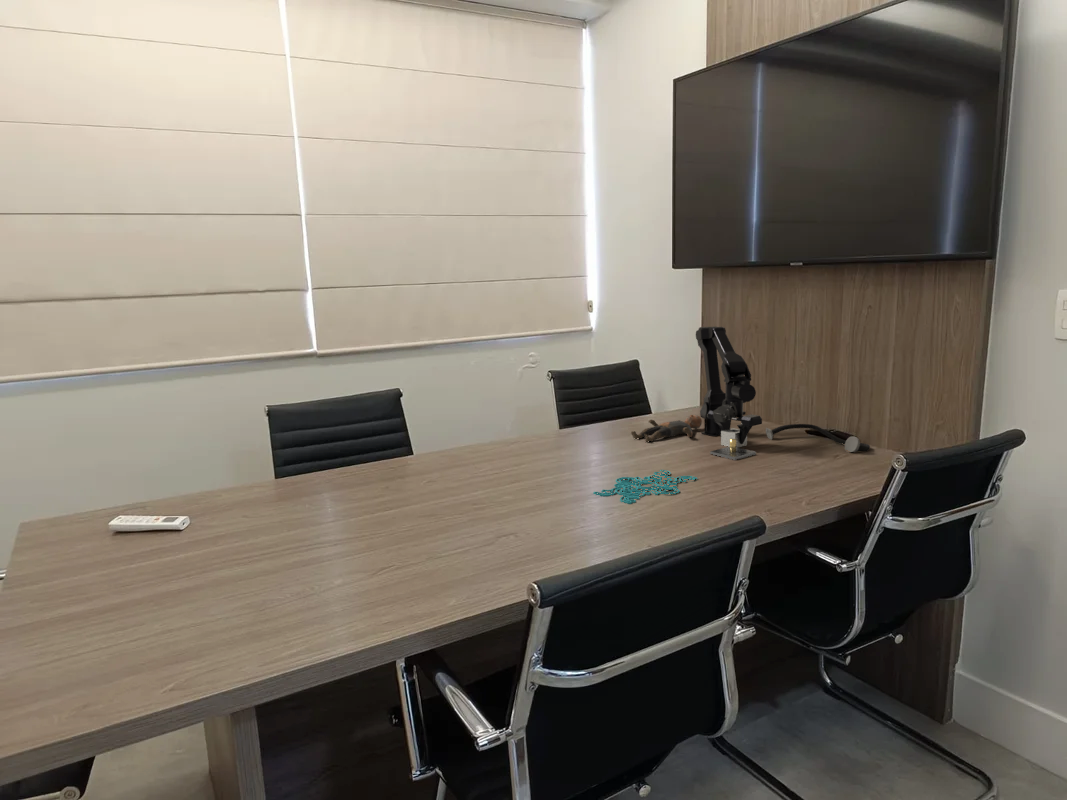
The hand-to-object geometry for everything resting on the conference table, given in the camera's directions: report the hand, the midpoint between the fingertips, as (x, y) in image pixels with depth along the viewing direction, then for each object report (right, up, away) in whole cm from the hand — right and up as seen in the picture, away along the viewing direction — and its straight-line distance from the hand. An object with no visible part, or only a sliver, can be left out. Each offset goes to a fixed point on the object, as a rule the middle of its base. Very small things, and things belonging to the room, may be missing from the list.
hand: (733, 442), depth 233 cm
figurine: (-18, +1, +19) cm, 26 cm away
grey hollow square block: (0, -1, 0) cm, 1 cm away
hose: (+27, -1, -3) cm, 27 cm away
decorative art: (-36, -11, -41) cm, 56 cm away
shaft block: (-4, -3, -12) cm, 13 cm away
